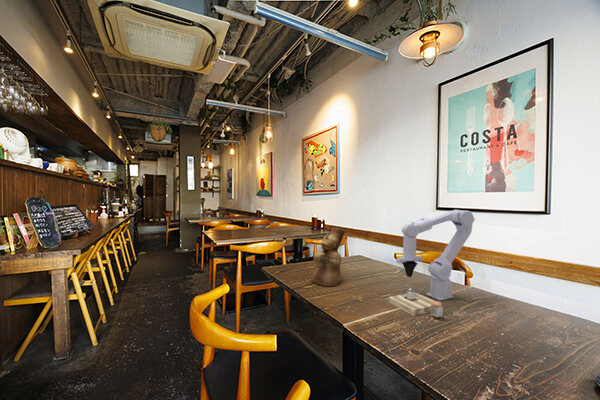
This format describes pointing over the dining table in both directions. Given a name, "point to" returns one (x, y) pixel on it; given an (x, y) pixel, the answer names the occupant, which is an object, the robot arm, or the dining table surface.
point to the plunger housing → (436, 311)
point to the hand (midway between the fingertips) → (409, 276)
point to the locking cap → (436, 303)
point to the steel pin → (410, 294)
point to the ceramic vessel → (329, 259)
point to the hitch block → (412, 304)
